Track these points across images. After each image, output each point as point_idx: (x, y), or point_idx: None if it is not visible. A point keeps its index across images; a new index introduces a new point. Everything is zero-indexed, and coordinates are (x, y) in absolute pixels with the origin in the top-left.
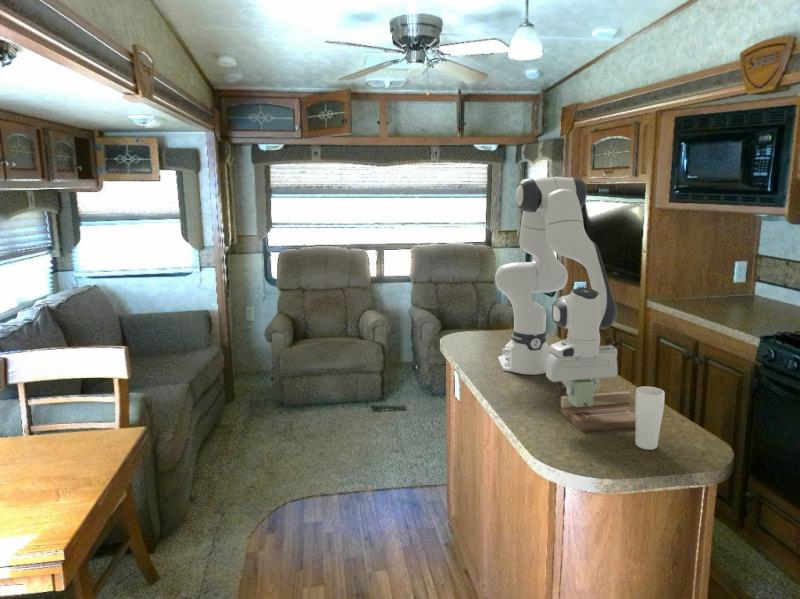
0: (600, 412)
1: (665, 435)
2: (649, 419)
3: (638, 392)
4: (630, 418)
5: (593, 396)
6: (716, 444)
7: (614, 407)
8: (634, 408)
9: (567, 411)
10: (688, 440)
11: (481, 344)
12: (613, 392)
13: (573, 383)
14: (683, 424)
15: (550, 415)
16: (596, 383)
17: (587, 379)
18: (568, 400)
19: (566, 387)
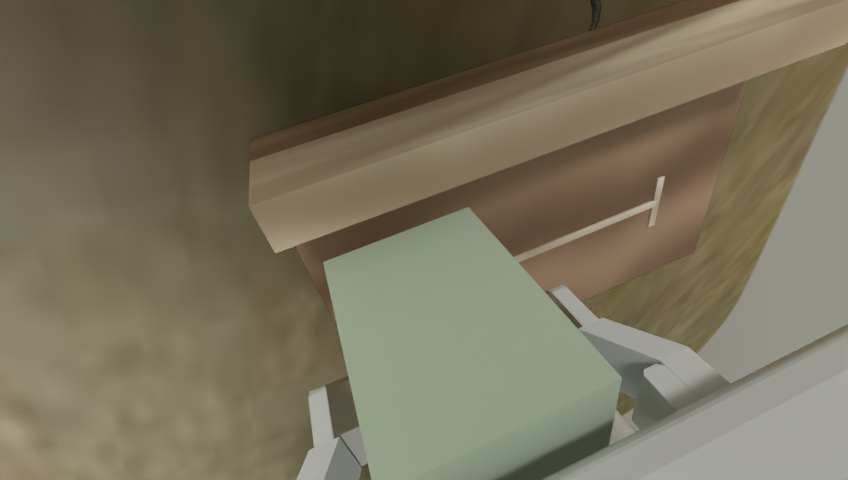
0: (514, 230)
1: (647, 299)
2: None
3: None
4: (613, 268)
5: (563, 146)
6: (722, 314)
7: (629, 135)
8: (715, 136)
9: (306, 257)
10: (680, 312)
11: None
12: (760, 35)
13: None
14: (768, 197)
15: (169, 209)
16: (630, 393)
17: (584, 450)
18: (324, 267)
19: (310, 459)
